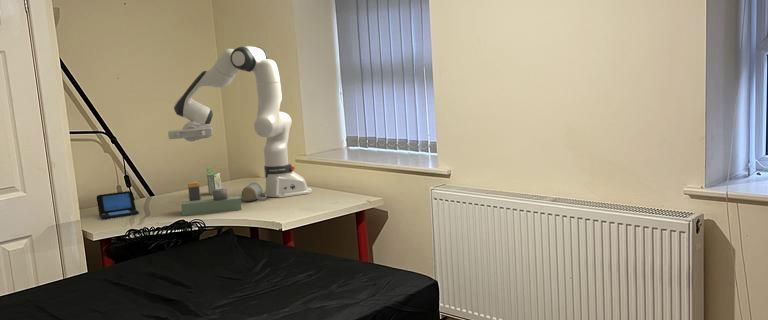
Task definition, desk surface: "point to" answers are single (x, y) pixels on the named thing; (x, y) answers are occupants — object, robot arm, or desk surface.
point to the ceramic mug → (253, 192)
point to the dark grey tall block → (194, 191)
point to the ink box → (213, 180)
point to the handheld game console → (116, 205)
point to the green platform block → (212, 204)
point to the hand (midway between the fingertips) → (190, 134)
